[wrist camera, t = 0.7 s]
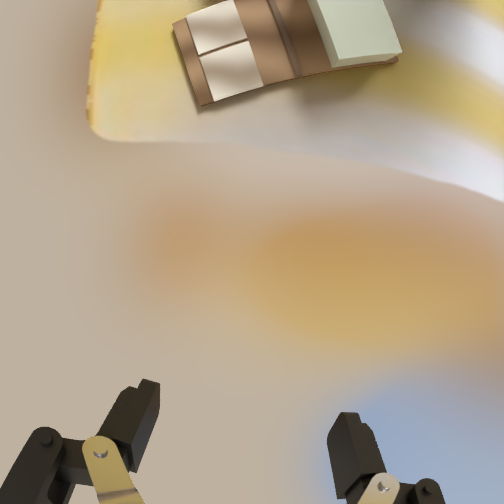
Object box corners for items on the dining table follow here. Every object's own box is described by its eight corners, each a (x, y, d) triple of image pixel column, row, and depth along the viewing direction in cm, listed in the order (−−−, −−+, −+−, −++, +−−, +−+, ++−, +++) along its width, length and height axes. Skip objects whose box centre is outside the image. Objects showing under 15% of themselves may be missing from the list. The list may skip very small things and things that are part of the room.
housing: (300, -15, 20) (299, -37, 15) (353, -22, 18) (362, -42, 14) (331, 68, 24) (339, 59, 20) (385, 60, 23) (402, 52, 18)
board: (175, 25, 25) (170, 22, 23) (363, -21, 19) (365, -26, 18) (202, 106, 29) (198, 107, 28) (395, 63, 23) (399, 61, 22)
